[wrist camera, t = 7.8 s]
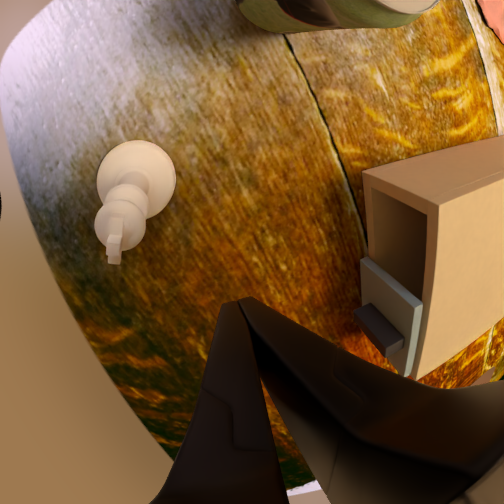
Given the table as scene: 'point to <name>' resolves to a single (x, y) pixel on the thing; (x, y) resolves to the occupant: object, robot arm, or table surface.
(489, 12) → the cloth
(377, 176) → the box
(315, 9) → the beverage can
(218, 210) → the table surface
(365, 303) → the closet door
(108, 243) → the chess piece
